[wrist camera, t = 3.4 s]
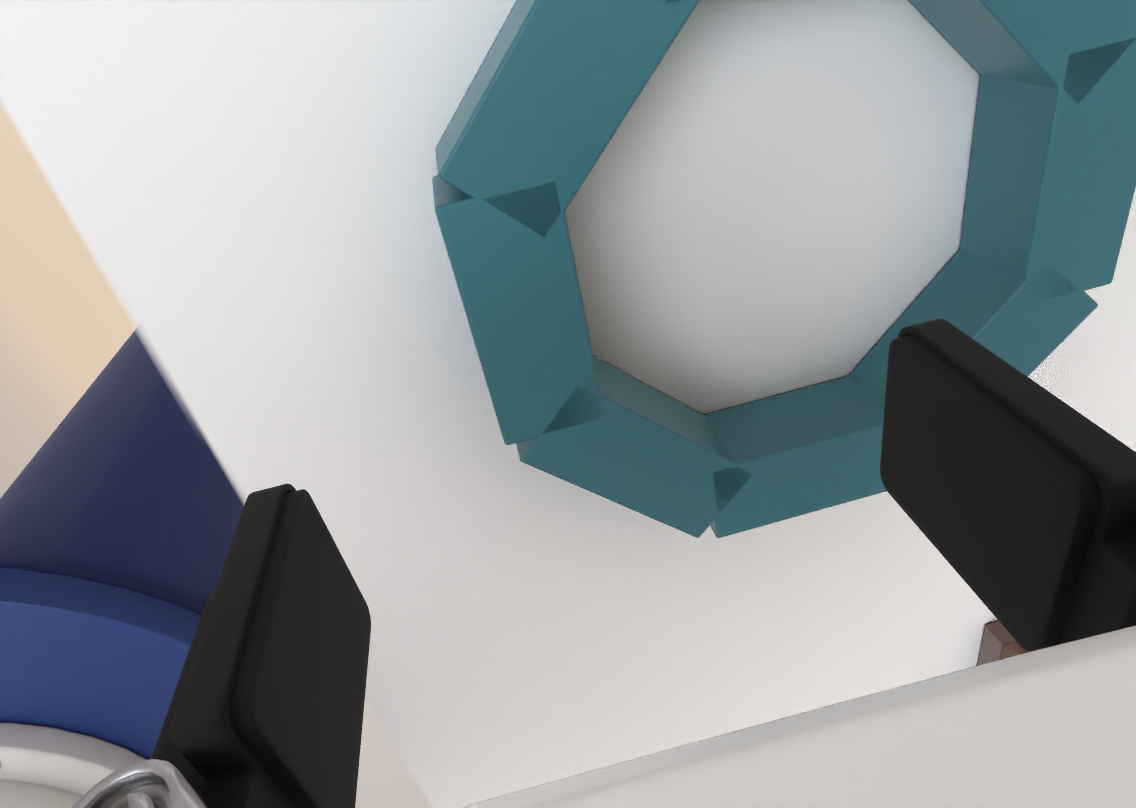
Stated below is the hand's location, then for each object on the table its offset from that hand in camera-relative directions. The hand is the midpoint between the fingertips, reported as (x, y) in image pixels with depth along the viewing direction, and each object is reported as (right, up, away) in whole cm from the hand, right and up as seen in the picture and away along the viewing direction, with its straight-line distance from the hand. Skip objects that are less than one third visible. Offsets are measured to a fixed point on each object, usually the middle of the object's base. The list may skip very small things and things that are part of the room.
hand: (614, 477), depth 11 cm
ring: (+5, +6, +9) cm, 12 cm away
